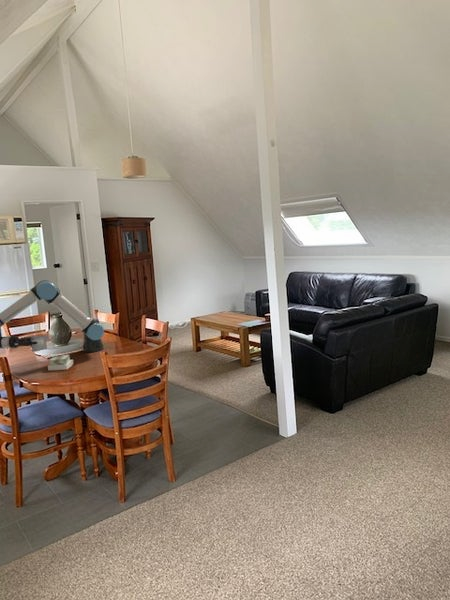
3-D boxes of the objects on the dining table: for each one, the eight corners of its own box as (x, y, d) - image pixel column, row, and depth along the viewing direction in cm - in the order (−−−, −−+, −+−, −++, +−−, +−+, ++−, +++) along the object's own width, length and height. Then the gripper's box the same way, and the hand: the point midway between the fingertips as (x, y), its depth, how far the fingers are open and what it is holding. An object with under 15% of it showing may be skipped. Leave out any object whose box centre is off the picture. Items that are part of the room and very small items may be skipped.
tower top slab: (70, 359, 296) (69, 354, 295) (66, 364, 286) (65, 358, 286) (54, 361, 295) (53, 356, 294) (50, 365, 285) (49, 360, 285)
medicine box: (43, 348, 295) (42, 335, 293) (47, 348, 292) (45, 335, 290) (32, 351, 289) (30, 337, 287) (35, 351, 286) (33, 338, 285)
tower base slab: (73, 364, 297) (73, 359, 296) (67, 370, 285) (66, 364, 284) (55, 365, 297) (55, 360, 297) (48, 371, 285) (47, 366, 285)
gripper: (19, 343, 301) (53, 342, 300) (3, 352, 280) (39, 350, 279) (18, 332, 300) (51, 330, 299) (1, 340, 279) (37, 338, 278)
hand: (45, 340), depth 289 cm, fingers closed on medicine box, 9 cm apart
